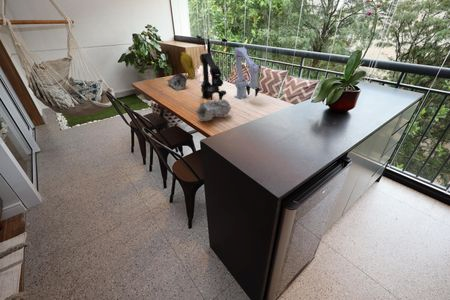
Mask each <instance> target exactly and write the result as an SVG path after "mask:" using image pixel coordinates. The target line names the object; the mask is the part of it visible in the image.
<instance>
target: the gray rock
mask: <svg viewBox="0 0 450 300" xmlns="http://www.w3.org/2000/svg"><path fill="white" fill-rule="evenodd" d="M187 81H188V78H187V77H186V76H185V74H183V73H181V72H179V73H178V72H177V73H176V74H173V76H172V77H171V78H169V79H167V80H166V82H167V84H168V85H169V86H170V87H172V89H174V90H176V91H178V90H179V91H181V90H183V89H184V88H186V87H187V85H186V84H187Z"/></svg>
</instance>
